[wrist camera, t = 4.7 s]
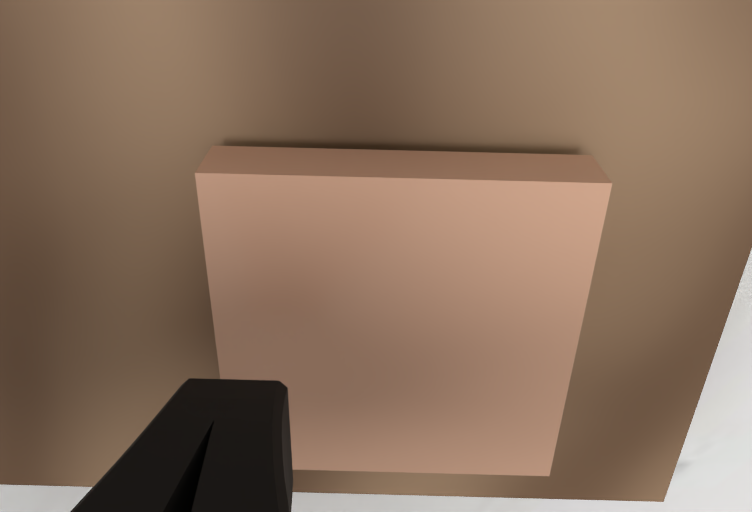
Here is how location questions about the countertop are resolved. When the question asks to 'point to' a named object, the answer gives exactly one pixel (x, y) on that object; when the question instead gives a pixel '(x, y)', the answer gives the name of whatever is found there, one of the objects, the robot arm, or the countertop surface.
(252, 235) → the tile
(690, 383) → the board
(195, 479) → the robot arm
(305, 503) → the countertop surface
